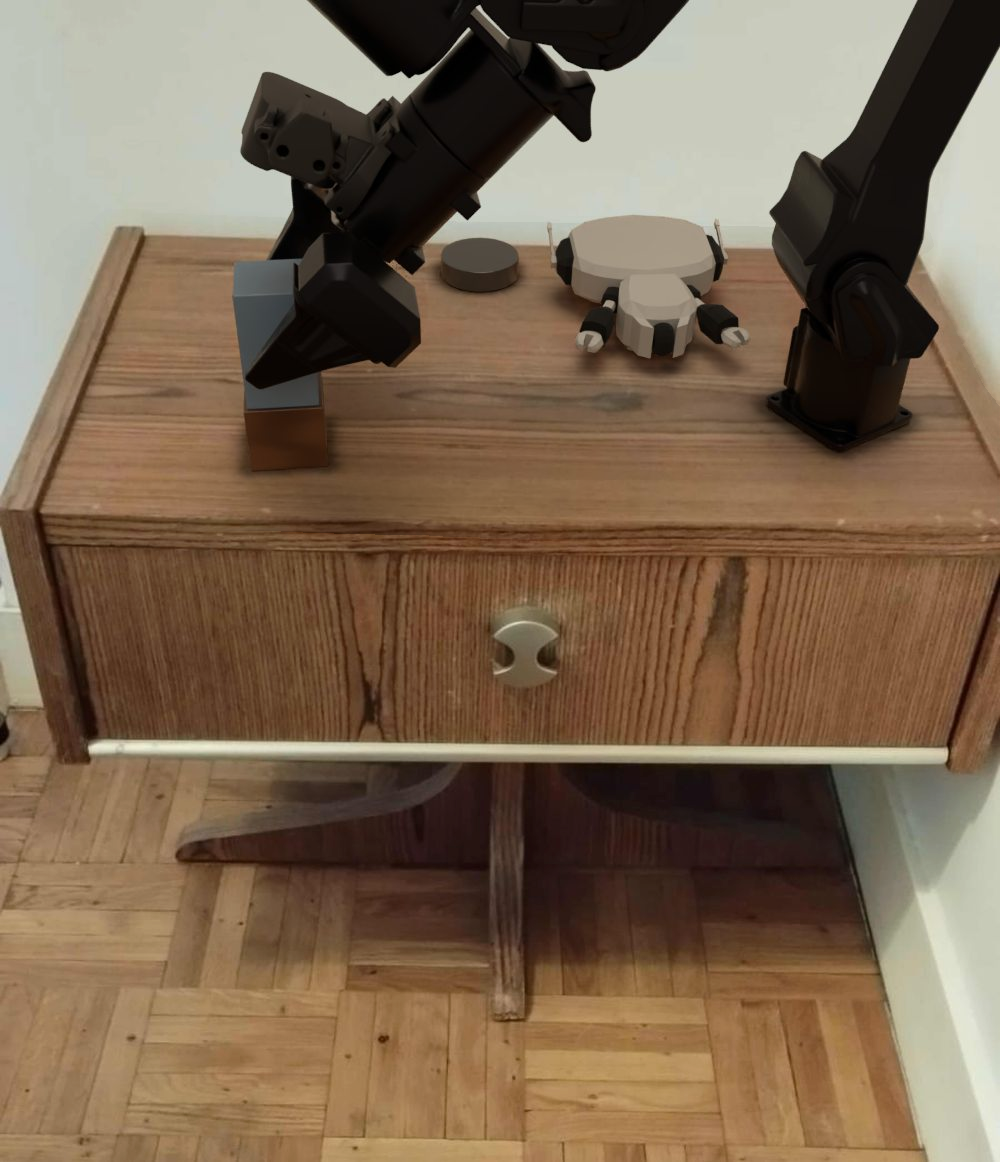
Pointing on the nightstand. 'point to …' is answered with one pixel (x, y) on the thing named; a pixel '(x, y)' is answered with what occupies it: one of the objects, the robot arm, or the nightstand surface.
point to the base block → (287, 435)
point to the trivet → (479, 264)
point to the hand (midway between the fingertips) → (252, 340)
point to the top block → (267, 328)
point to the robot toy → (646, 283)
